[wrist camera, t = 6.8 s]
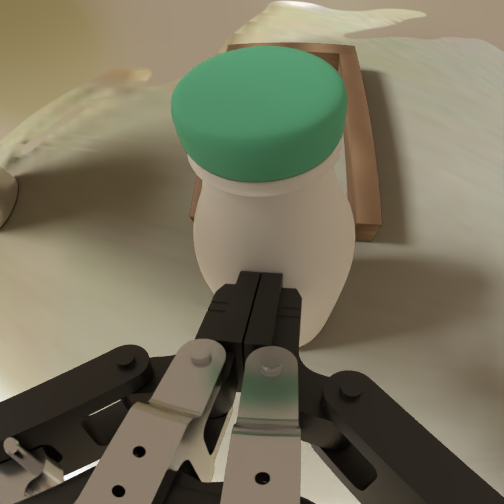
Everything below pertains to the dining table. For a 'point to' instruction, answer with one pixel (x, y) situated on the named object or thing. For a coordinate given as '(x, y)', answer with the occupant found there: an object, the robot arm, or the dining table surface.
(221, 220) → the milk bottle
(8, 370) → the dining table surface
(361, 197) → the walnut U-rest
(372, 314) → the dining table surface
